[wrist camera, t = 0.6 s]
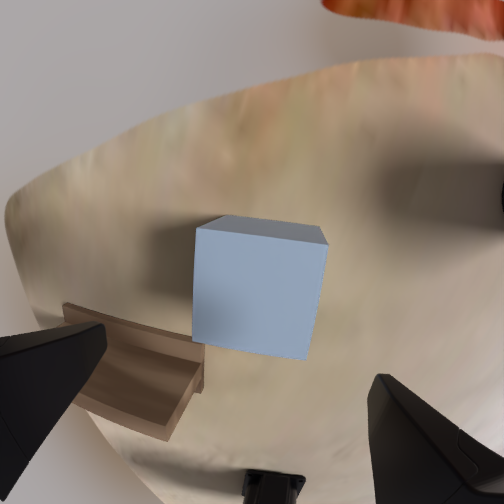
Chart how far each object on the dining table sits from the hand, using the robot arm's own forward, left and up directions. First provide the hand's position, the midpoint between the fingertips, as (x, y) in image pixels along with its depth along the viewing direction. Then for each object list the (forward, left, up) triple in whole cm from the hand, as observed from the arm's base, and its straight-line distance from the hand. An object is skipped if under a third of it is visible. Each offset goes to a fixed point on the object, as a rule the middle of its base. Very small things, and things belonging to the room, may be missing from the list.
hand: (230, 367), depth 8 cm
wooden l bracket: (-9, +11, -11) cm, 18 cm away
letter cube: (0, 0, -12) cm, 12 cm away
